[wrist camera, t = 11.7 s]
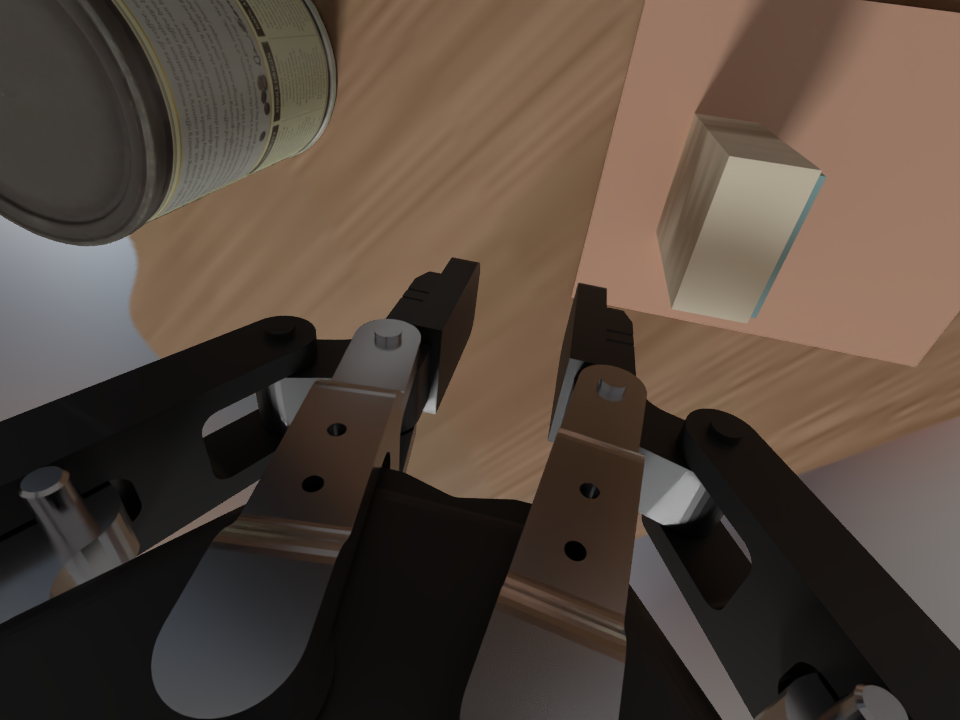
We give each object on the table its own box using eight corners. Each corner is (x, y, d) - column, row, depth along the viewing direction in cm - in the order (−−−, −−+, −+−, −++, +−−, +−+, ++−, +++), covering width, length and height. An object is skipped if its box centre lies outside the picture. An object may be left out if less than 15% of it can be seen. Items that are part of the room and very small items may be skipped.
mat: (651, -27, 22) (652, -27, 22) (1160, 39, 20) (1169, 40, 20) (571, 294, 31) (571, 297, 31) (912, 363, 29) (915, 366, 29)
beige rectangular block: (694, 113, 24) (729, 155, 17) (764, 123, 24) (831, 172, 17) (655, 231, 28) (671, 308, 21) (717, 242, 27) (754, 325, 20)
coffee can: (244, 186, 32) (43, 281, 21) (127, 7, 28) (-212, 4, 16) (374, 116, 28) (212, 187, 17) (261, -108, 23) (-68, -220, 12)
